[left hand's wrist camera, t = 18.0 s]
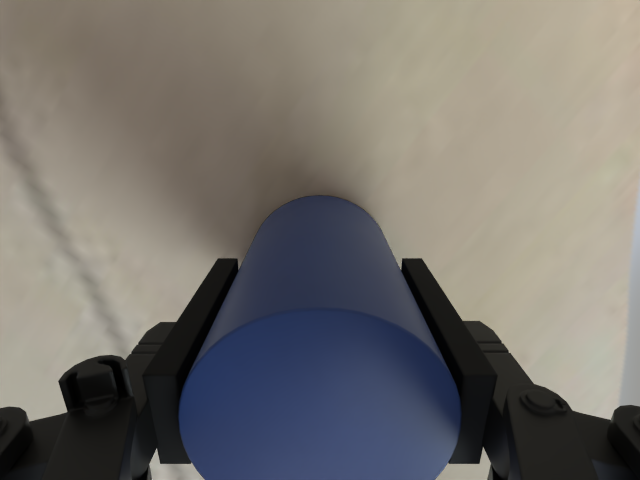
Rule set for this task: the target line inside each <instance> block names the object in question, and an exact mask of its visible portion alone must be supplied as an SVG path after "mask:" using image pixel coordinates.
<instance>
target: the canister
mask: <svg viewBox="0 0 640 480" xmlns="http://www.w3.org/2000/svg"><path fill="white" fill-rule="evenodd" d="M461 416H462V412H461V402H460V397H459V393H458V390H457V386H456V384H455V382H454V380H453V377H452V375H451V373H450V371H449V369H448V367H447V365H446V363H445V361H444V359H443V357H442V355H441V352H440V350H439V348H438V346H437V344H436V342H435V340H434V338H433V336H432V334H431V332H430V330H429V328H428V326H427V324H426V321H425V319H424V317H423V315H422V313H421V311H420V309H419V307H418V305H417V303H416V301H415V299H414V297H413V295H412V293H411V290H410V288H409V286H408V284H407V282H406V280H405V278H404V276H403V274H402V272H401V270H400V268H399V266H398V264H397V262H396V259H395V257H394V255H393V253H392V251H391V249H390V247H389V245H388V243H387V241H386V239H385V237H384V235H383V233H382V230H381V229H380V227H379V226H378V224H377V223H376V221H375V220H374V219H373V218H372V217H371V216H370V215H369V214H368V213H367V212H366V211H364V210H363V209H362V208H360V207H359V206H357V205H355V204H353V203H351V202H349V201H347V200H344V199H341V198H337V197H332V196H320V195H318V196H308V197H303V198H299V199H296V200H293V201H291V202H289V203H287V204H285V205H283V206H281V207H280V208H278V209H277V210H275V211H274V212H273V213H272V214H271V215H270V216H269V217H268V218H267V219H266V220H265V221H264V222H263V224H262V225H261V227H260V228H259V230H258V232H257V234H256V236H255V238H254V240H253V242H252V244H251V246H250V248H249V250H248V252H247V255H246V257H245V259H244V261H243V263H242V265H241V267H240V269H239V271H238V273H237V275H236V277H235V279H234V281H233V283H232V286H231V288H230V290H229V292H228V294H227V296H226V298H225V300H224V302H223V304H222V306H221V308H220V310H219V312H218V314H217V317H216V319H215V321H214V323H213V325H212V327H211V329H210V331H209V333H208V335H207V337H206V339H205V341H204V343H203V345H202V348H201V350H200V352H199V354H198V356H197V358H196V360H195V362H194V364H193V366H192V368H191V370H190V372H189V374H188V377H187V379H186V381H185V384H184V386H183V388H182V392H181V397H180V401H179V411H178V421H179V430H180V435H181V439H182V442H183V446H184V448H185V450H186V452H187V455H188V457H189V459H190V460H191V462H192V464H193V465H194V467H195V468H196V470H197V471H198V472H199V473H200V475H201V476H202V477H203V478H204V479H205V480H435V479H436V478H437V477H438V475H439V474H440V473H441V472H442V471H443V469H444V468H445V466H446V465H447V463H448V461H449V460H450V458H451V457H452V454H453V452H454V450H455V447H456V445H457V442H458V438H459V434H460V430H461Z"/></svg>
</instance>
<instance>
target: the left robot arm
mask: <svg viewBox="0 0 640 480" xmlns="http://www.w3.org/2000/svg"><path fill="white" fill-rule="evenodd" d="M238 271H239V270H238V259H237V258H218V259H217V261H216V262H215V264H214V265H213V267H212V269H211V270H210V272H209V273H208V275H207V276H206V278H205V279H204V281H203V282H202V284H201V285H200V287H199V288H198V290H197V291H196V293H195V295H194V296H193V298H192V299H191V301H190V302H189V304H188V305H187V307H186V308H185V310H184V311H183V313H182V314H181V316H180V318H179V319H178V321H177V322H160V323H159V324H157V325H156V326H154V327H153V328H151V329H150V330H148V331H147V332H146V333H145V335H144V336H143V337H142V339H141V340H140V341H139V343H138V345H136V347H135V348H134V349H133V351H132V353H131V354H130V355H129V356H128V357H127V359H126V360H124V359H123V358H122V357H119V356H114V355H105V356H98V357H94V358H91V359H87V360H85V361H83V362H81V363H79V364H77V365H75V366H73V367H72V368H71V369H69V370H68V371H67V372H65V373H64V374H63V376H62V377H61V378H60V380H59V381H58V382H59V385H60V388H61V391H62V395H63V398H64V401H65V404H66V408H67V411H68V412H67V413H63V414H60V415H56V416H51V417H47V418H43V419H39V420H34V421H30V422H29V419H28V417H27V414H26V412H25V411H24V410H22V409H21V408H19V407H5V408H0V480H152V477H151V470H150V466H149V463H150V461H151V459H152V457H153V455H154V453H155V450H156V448H157V450H158V455H159V460H160V464H191V460H190V459H189V457H188V455H187V452H186V450H185V448H184V446H183V442H182V439H181V435H180V430H179V421H178V411H179V401H180V397H181V392H182V388H183V386H184V384H185V381H186V379H187V377H188V374H189V372H190V370H191V368H192V366H193V364H194V362H195V360H196V358H197V356H198V354H199V352H200V350H201V348H202V345H203V343H204V341H205V339H206V337H207V335H208V333H209V331H210V329H211V327H212V325H213V323H214V321H215V319H216V317H217V314H218V312H219V310H220V308H221V306H222V304H223V302H224V300H225V298H226V296H227V294H228V292H229V290H230V288H231V286H232V283H233V281H234V279H235V277H236V275H237V273H238ZM401 272H402V274H403V276H404V278H405V280H406V282H407V284H408V286H409V288H410V290H411V293H412V295H413V297H414V299H415V301H416V303H417V305H418V307H419V309H420V311H421V313H422V315H423V317H424V319H425V321H426V324H427V326H428V328H429V330H430V332H431V334H432V336H433V338H434V340H435V342H436V344H437V346H438V348H439V350H440V352H441V355H442V357H443V359H444V361H445V363H446V365H447V367H448V369H449V371H450V373H451V375H452V377H453V380H454V382H455V384H456V386H457V390H458V393H459V397H460V402H461V412H462V416H461V430H460V434H459V438H458V442H457V445H456V447H455V450H454V452H453V454H452V457H451V458H450V460H449V461H448V463H449V464H479V463H480V458H481V454H482V449H483V447H484V449H485V451H486V453H487V455H488V458H489V460H490V462H491V466H490V470H489V475H488V479H487V480H640V407H639V406H633V405H626V406H620V407H618V408H617V409H616V410H614V413H613V416H612V419H611V420H608V419H604V418H600V417H595V416H591V415H587V414H582V413H579V412H575V411H572V409H571V408H570V406H569V405H568V403H567V402H566V401H565V400H564V399H562V398H561V397H560V396H559V395H558V394H556V393H554V392H553V391H551V390H549V389H547V388H545V387H542V386H539V385H535V384H534V383H533V382H532V381H531V380H530V378H529V377H528V376H527V374H526V373H525V372H524V370H523V369H522V368H521V366H520V365H519V364H518V362H517V361H516V360H515V359H514V357H513V356H512V355H511V353H509V352H508V349H507V348H506V347H505V345H504V344H502V341H501V340H500V339H499V337H498V336H497V335H496V334H495V332H494V331H493V330H492V329H490V328H489V327H487V326H486V325H484V324H483V323H482V322H480V321H462V319H461V318H460V316H459V315H458V313H457V312H456V310H455V309H454V307H453V306H452V304H451V303H450V301H449V300H448V298H447V296H446V295H445V293H444V292H443V290H442V289H441V287H440V286H439V284H438V283H437V281H436V280H435V278H434V277H433V275H432V274H431V272H430V270H429V269H428V267H427V266H426V264H425V263H424V261H423V260H422V258H402V268H401Z"/></svg>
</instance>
